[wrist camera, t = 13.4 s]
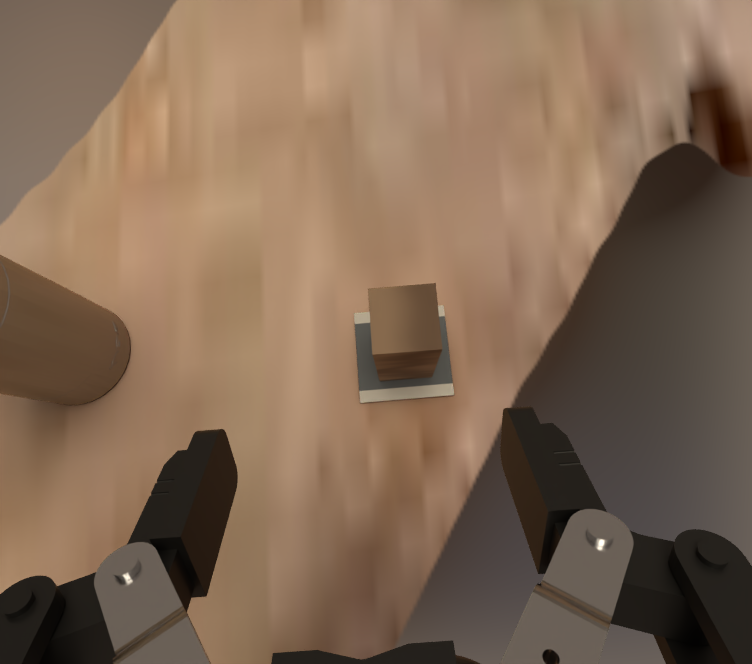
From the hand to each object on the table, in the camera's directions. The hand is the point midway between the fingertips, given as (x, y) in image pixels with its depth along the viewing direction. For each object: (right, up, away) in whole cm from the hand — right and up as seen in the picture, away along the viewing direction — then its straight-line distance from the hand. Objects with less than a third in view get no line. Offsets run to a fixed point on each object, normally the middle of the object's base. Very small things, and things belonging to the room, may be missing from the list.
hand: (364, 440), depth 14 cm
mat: (+3, +1, +29) cm, 29 cm away
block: (+3, +1, +28) cm, 29 cm away
